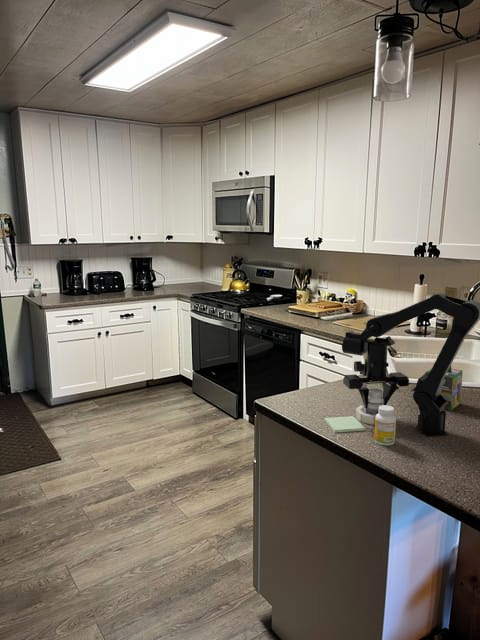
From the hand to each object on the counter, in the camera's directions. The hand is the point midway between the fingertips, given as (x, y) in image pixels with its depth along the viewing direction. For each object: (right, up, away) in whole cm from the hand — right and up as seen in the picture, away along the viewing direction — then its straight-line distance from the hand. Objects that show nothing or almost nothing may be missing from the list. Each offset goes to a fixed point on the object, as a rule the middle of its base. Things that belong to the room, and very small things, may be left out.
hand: (374, 407), depth 146 cm
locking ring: (0, -3, +1) cm, 3 cm away
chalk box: (+26, -1, +12) cm, 28 cm away
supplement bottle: (-2, -7, -16) cm, 17 cm away
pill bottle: (0, -4, +1) cm, 4 cm away
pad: (-10, -4, -5) cm, 12 cm away
